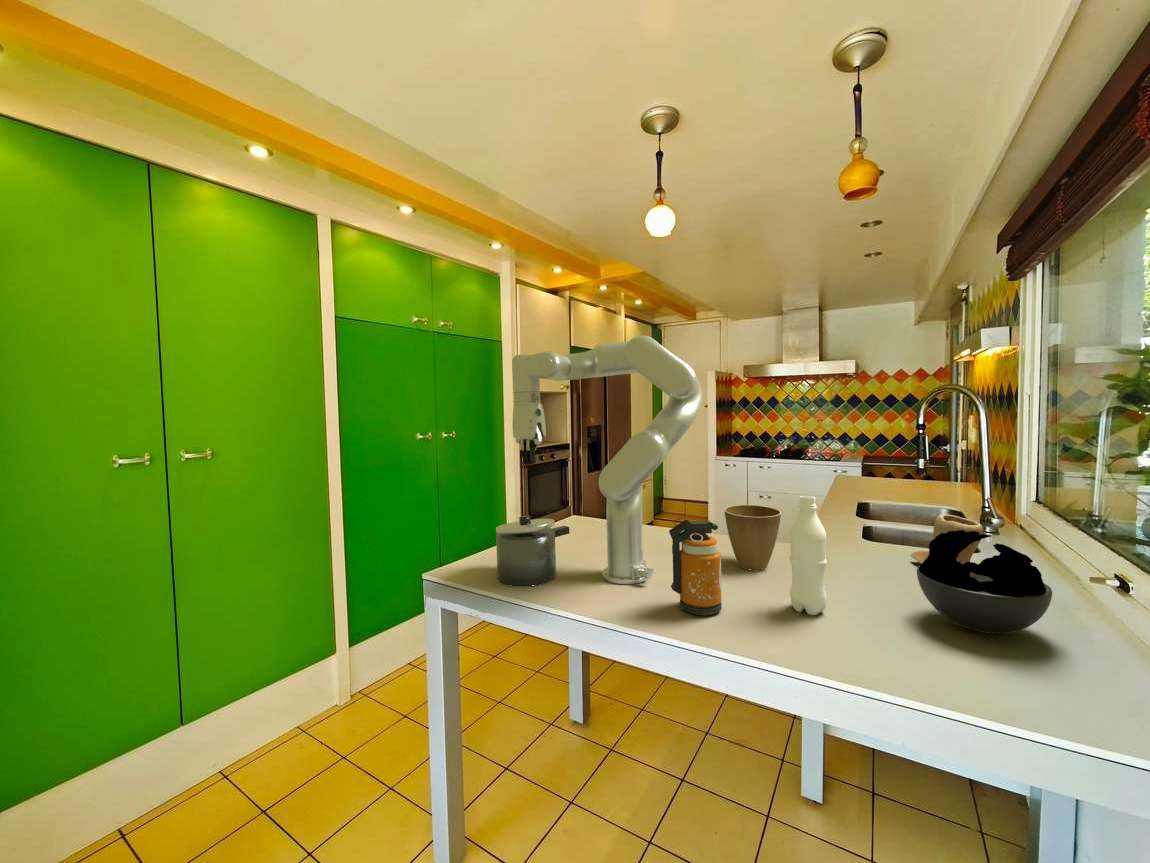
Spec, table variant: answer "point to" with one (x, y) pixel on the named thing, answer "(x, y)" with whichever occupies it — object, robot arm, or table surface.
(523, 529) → the lid
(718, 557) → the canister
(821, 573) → the water bottle
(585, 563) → the table surface
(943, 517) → the stone cup
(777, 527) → the plant pot
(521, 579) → the cooker pot
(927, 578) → the coal bowl
